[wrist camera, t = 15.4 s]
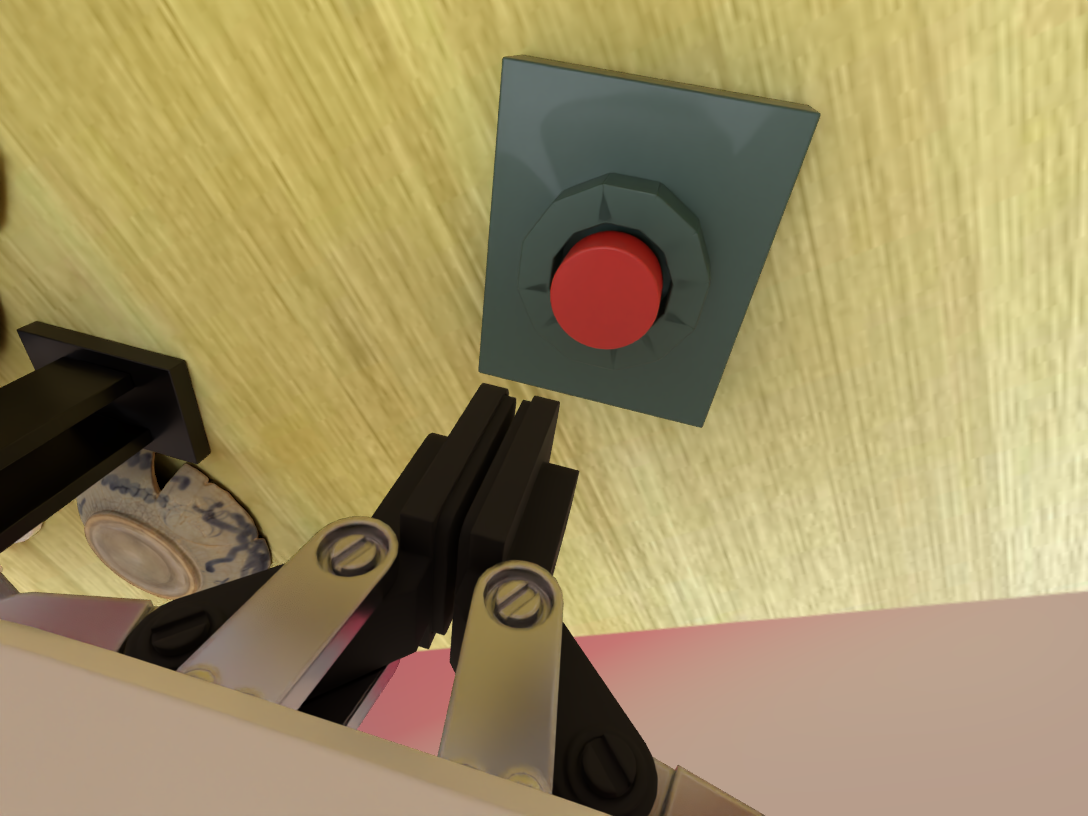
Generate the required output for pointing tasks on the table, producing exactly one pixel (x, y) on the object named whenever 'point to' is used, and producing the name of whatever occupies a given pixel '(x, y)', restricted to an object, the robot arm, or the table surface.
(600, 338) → the button
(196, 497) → the decorative bowl
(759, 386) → the table surface
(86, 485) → the lever bracket
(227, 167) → the table surface
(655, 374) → the block
